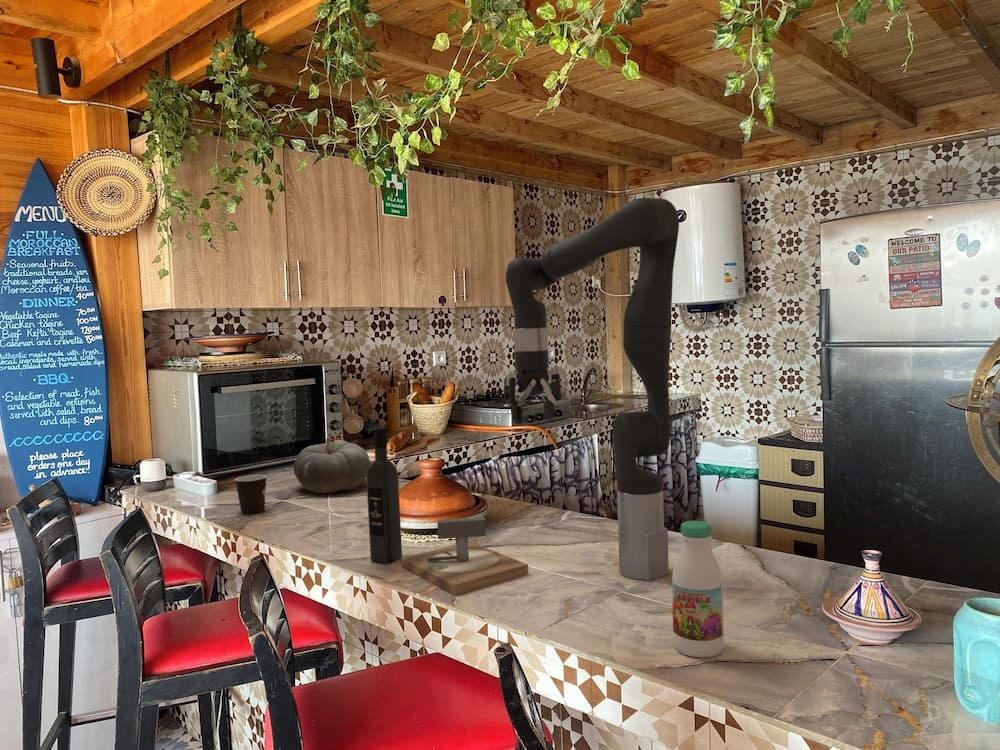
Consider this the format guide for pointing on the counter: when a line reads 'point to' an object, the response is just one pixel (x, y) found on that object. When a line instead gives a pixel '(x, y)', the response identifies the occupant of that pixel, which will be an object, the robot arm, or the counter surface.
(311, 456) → the gourd
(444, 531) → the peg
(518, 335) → the robot arm
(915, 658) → the counter surface
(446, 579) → the wooden base stand
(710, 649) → the milk bottle
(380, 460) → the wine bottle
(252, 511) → the coffee mug
